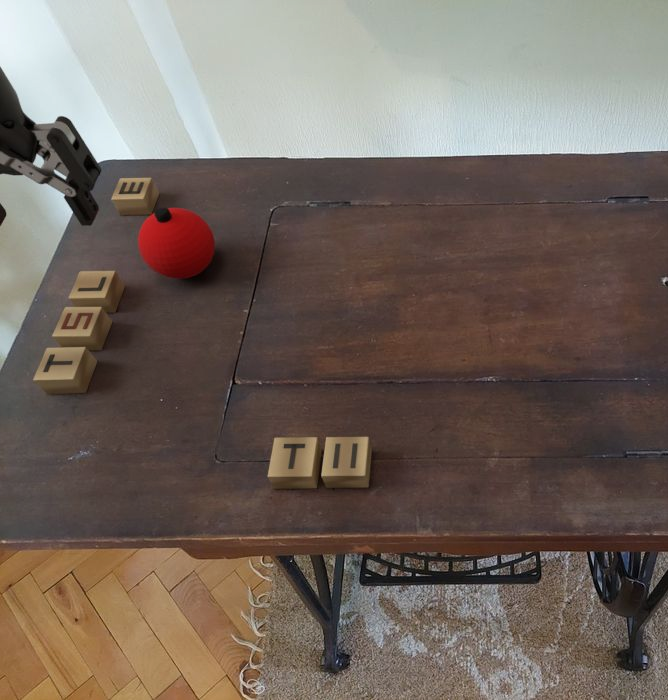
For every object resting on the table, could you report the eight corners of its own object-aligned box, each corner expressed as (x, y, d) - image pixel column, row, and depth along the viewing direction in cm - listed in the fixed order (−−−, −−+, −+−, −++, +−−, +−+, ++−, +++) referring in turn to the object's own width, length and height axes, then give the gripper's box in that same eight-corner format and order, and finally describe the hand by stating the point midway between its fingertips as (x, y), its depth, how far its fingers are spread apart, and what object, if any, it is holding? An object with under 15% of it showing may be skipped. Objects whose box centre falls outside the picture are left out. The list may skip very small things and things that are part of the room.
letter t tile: (85, 393, 75) (72, 378, 73) (46, 394, 75) (32, 379, 73) (97, 361, 78) (85, 346, 75) (59, 362, 78) (46, 347, 75)
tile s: (101, 350, 79) (89, 335, 76) (64, 351, 79) (51, 335, 76) (112, 321, 81) (101, 306, 79) (76, 321, 81) (64, 306, 79)
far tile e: (151, 214, 93) (143, 198, 90) (120, 215, 93) (110, 198, 90) (159, 193, 95) (151, 176, 93) (128, 194, 95) (119, 177, 93)
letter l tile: (115, 312, 82) (104, 297, 80) (79, 313, 82) (67, 297, 80) (125, 286, 85) (115, 270, 82) (90, 286, 85) (79, 270, 82)
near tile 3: (326, 488, 68) (320, 475, 66) (330, 449, 71) (325, 436, 69) (368, 487, 68) (365, 475, 66) (372, 449, 71) (368, 435, 69)
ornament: (154, 299, 84) (120, 243, 76) (154, 250, 89) (123, 193, 81) (225, 285, 85) (200, 229, 77) (222, 238, 90) (198, 180, 82)
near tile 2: (274, 488, 68) (267, 476, 66) (281, 450, 71) (274, 437, 69) (317, 488, 68) (311, 476, 66) (322, 449, 71) (317, 436, 69)
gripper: (-193, 88, 46) (-48, 250, 59) (9, 85, 47) (109, 247, 60) (-138, 33, 51) (-15, 195, 64) (46, 31, 51) (131, 193, 64)
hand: (45, 220), depth 62 cm, fingers open, 8 cm apart
